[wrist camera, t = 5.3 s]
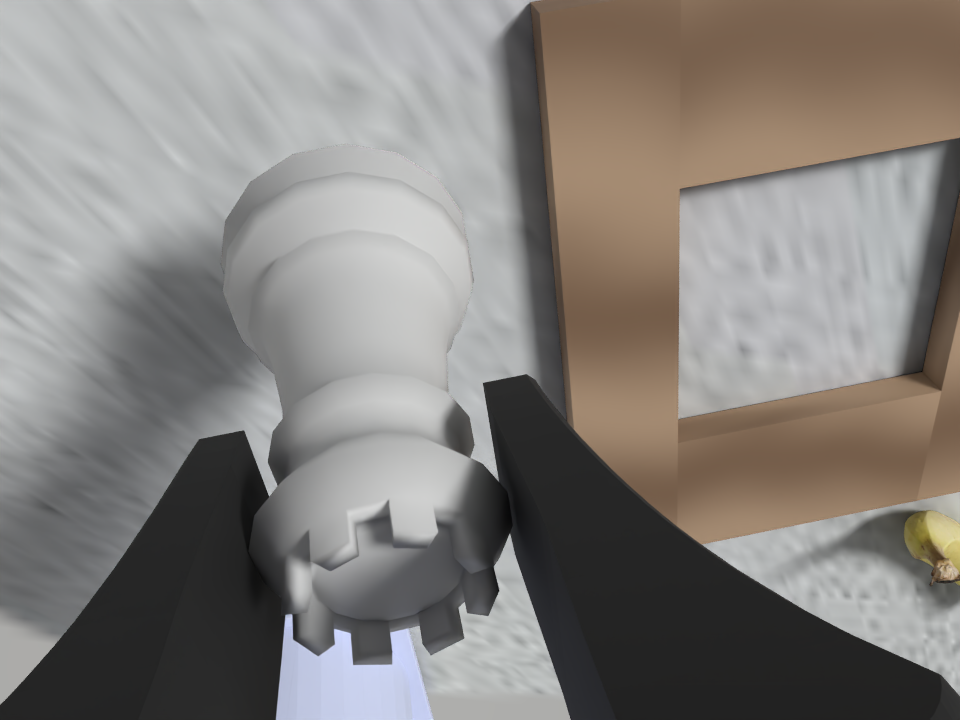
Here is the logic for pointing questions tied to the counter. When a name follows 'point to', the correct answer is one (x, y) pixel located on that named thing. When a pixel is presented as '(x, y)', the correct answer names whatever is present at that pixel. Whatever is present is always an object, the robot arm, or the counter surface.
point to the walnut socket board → (655, 239)
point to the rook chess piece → (364, 400)
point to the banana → (935, 544)
